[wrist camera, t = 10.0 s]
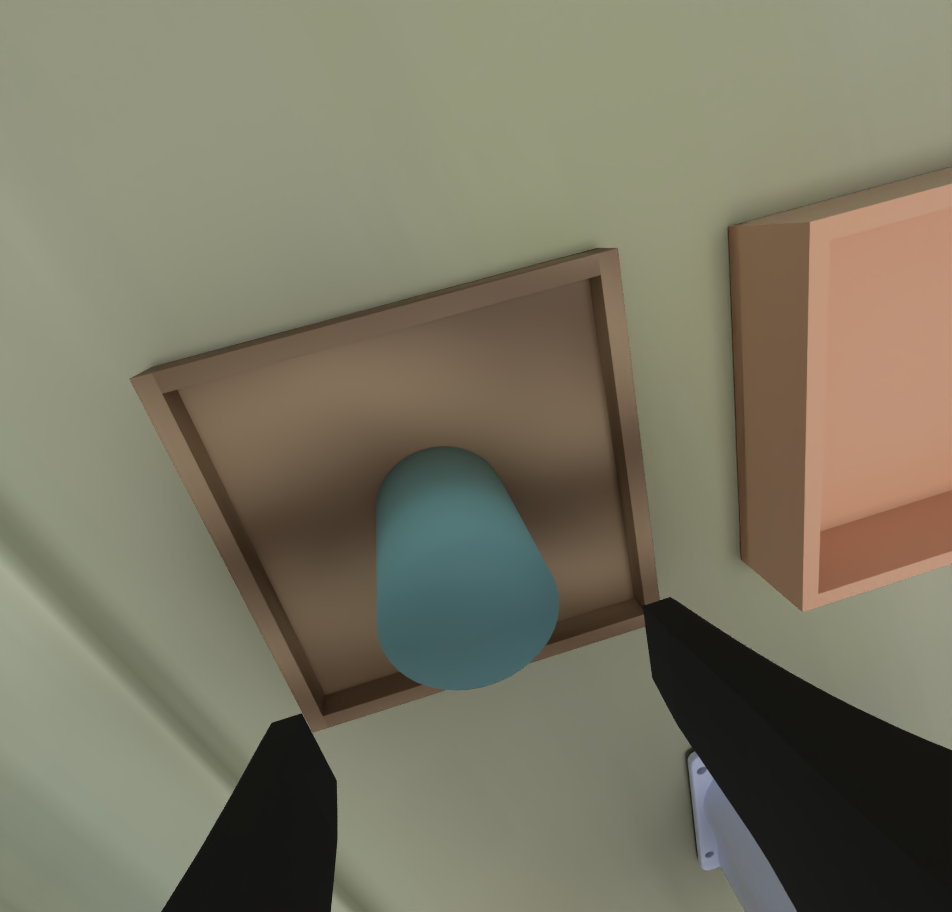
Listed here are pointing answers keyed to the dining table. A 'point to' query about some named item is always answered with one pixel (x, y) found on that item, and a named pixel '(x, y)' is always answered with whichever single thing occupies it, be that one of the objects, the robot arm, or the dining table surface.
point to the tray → (403, 433)
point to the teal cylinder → (457, 574)
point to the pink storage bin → (845, 389)
